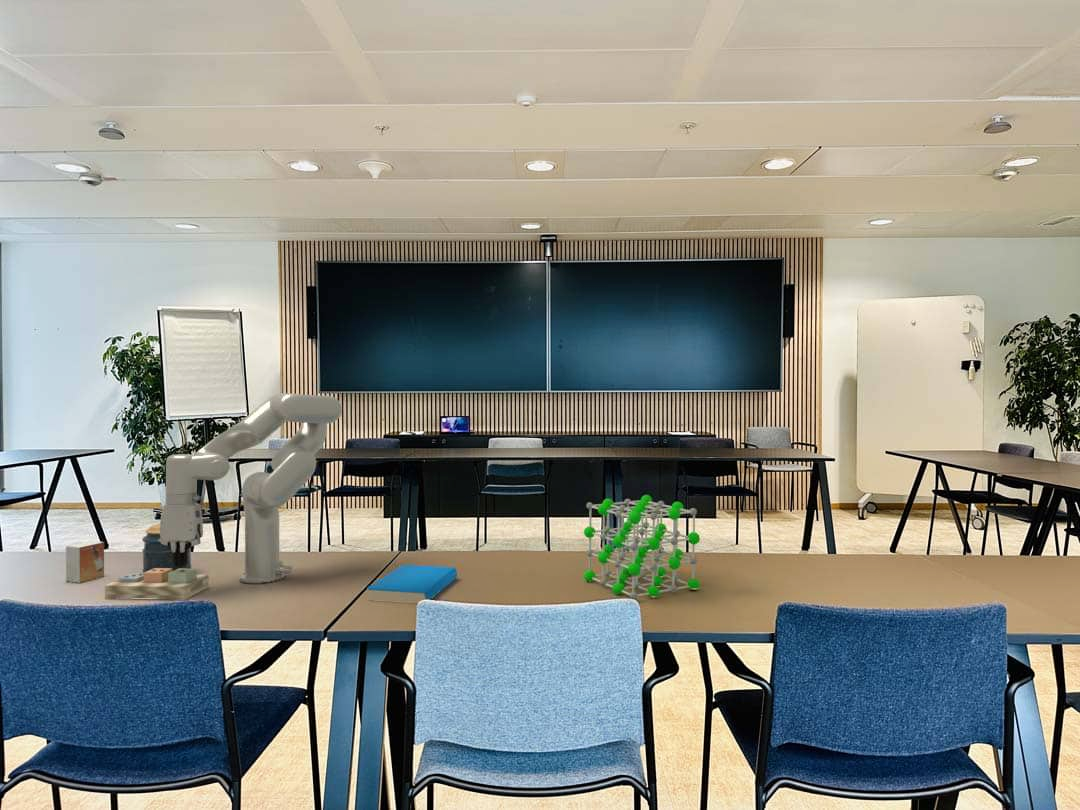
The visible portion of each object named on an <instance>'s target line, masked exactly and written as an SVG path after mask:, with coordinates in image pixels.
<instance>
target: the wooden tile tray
mask: <svg viewBox="0 0 1080 810" xmlns="http://www.w3.org/2000/svg"><path fill="white" fill-rule="evenodd" d="M137 574H139V572H138V573H137ZM209 580H210V579H209V574H196V579H195V580H193V581H191V582H189V583H187V584H183V583H168V580H167V581H165V582H163V583H144V580H142V581H140V582H137V583H128V582H119V579H117V580H115V581H112V582H109V583H108V584H105V585H104V599H106V600H117V599H116V598H122V599H121V600H133V599H132V598H157V599H169V600H168V601H185V600H187V599H186V598H187V597H189V596H191V595H193V596H195V595H197V594H198V592H199V593H201V592H203V591H204V590H206V589H208V588H209V587H210V586H209V585H210V584H209V583H210V582H209ZM207 587H208V588H207ZM205 588H206V589H205ZM202 590H203V591H202ZM200 591H201V592H200ZM196 593H197V594H196ZM194 594H195V595H194ZM191 597H192V596H191ZM123 598H124V599H123ZM125 598H126V599H125ZM130 598H131V599H130ZM189 598H190V597H189Z"/></svg>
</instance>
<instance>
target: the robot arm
mask: <svg viewBox="0 0 1080 810" xmlns="http://www.w3.org/2000/svg"><path fill="white" fill-rule="evenodd" d="M342 411H343V407H342V404H341V403H340V401H339V400H338V399H337V398H336V397H334V396H331V395H314V394H301V393H291V392H290V393H289V392H288V393H287V392H281V393H279V392H278V393H276V394H274V395H272V396H270V397H269V398H268V399H266V400H265V401H264V402H263V403H261V404H260V405H259V406H258V407H257V408H255V409H254V410H253V411H252V412H250V413H249V414H248V415H247V416H246V417H244V418H243V419H242V420H241V421H239V422H237V423H236V424H234V425H232V426H231V427H230V428H228V429H227V430H224V431H223V432H222V433H220V434H218V435H217V436H215V437H214V438H213V439H211V440H210V441H209V442H207V443H206V444H205V445H203V447H201V448H200V449H199V450H198V451H196V452H195V453H194V454H190V453H189V454H188V453H187V454H186V453H179V454H178V453H177V454H172V455H169V456H168V457H166V460H165V461H166V463H165V466H166V467H165V503H164V504H163V506H162V510H161V515H160V522H159V524H160V538H161V544H164V545H168V546H169V547H170V548H171V551H172V552H174V567H182V566H184V565H186V563H187V551H188V550H189V549H190V548H191V549H192V547H195V546H198V545H200V544H201V542H202V541H201V538H202V537H203V535H204V525H203V524H204V522H203V514H202V508H201V505H200V503H197V502H198V501H201V499H202V497H201V495H198V492H197V491H198V490H197V485H198V483H197V482H198V480H201V481H202V480H203V481H205V480H206V481H217V480H220V479H223V478H224V477H226V476H227V475H228V473H229V471H230V461H229V459H230V458H231V457H233V456H234V455H236V454H238V453H240V452H242V451H244V450H248V449H251V448H254V447H256V446H258V445H261V444H262V443H263V442H264V441H265V440H266V439H268V438H269V437H270V436H271V435H272V434H273V433H275V432H276V431H278V429H279V428H280V427H282V426H283V425H284V424H285V423H286V422H287V423H288V422H291V423H301V424H300V427H299V429H298V430H297V431H296V433H295V434H294V435H293V436H292V437H291V438H290V439H289V440H288V441H287V442H286V443H285V444H284V445H283V446H282V447H281V448H280V449H279V450H278V451H277V452H276V453H274V455H273V457H272V460H271V462H270V463H271V469H272V470H273V471H271V472H270V473H269V472H264V471H257V472H255V473H252V474H250V475H249V476H248V477H246V479H244V481H243V484H242V488H241V489H242V490H241V495H242V503H243V510H244V573H242V574H240V575H239V581H240V582H241V581H242V582H241V583H244V582H246V583H245V584H263V583H262V582H267V583H271V581H272V582H275V580H276V581H280V580H282V579H283V578H285V576H286V574H292V573H293V566H292V565H285V564H284V560H280V557H281V556H280V555H281V554H280V511H279V507H280V508H281V507H282V506H284V505H285V504H286V503H288V502H289V501H290V500H291V499H292V498H293V497H294V496H295V495H296V493H298V491H299V490H300V489H302V487H303V486H304V485H305V484H306V483H307V482H308V480H310V479H311V478H312V476H313V475H314V474H315V473H314V472H315V470H316V467H317V458H316V457H315V454H317V453H318V451H319V450H320V449H321V447H322V446H323V445H324V443H325V441H326V439H327V433H328V432H327V430H328V424H333V423H335V422H336V421H338V419H339V418H340V417H341V415H342ZM281 578H282V579H281ZM279 579H280V580H279Z"/></svg>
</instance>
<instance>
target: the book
mask: <svg viewBox="0 0 1080 810" xmlns="http://www.w3.org/2000/svg"><path fill="white" fill-rule="evenodd" d="M457 578H458V571H457V569H456V567H453V566H439V565H438V566H437V565H436V566H434V565H420V564H419V565H418V564H416V565H415V564H403V565H401V566H400V567H397V568H396V569H395V570H393V571H392V572H390V573H388V574H387V575H385V576H383V577H382V578H380V579H379V580H376V582H374V583H372V584H370V585H369V586H368V587H366V590H367V600H368V599H373V600H388V601H402V602H413V603H414V602H416V603H417V602H418V601H420V600H424V599H431V600H433V598H432V597H433V596H434V595H436V594H437V593H438V592H439V591H441V590H442V589H443V588H444V589H446V588H447V587H448V586H450V585H451V582H452V581H453V580H454V581H455V580H456V579H457ZM454 581H453V582H454ZM453 582H452V583H453ZM447 585H448V586H447ZM446 586H447V587H446ZM445 587H446V588H445ZM444 589H443V590H444ZM443 590H442V591H443ZM442 591H441V592H442ZM438 594H439V593H438ZM438 594H437V595H438ZM437 595H436V596H437Z"/></svg>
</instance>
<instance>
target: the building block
mask: <svg viewBox="0 0 1080 810" xmlns="http://www.w3.org/2000/svg"><path fill="white" fill-rule="evenodd" d="M118 580H119V582H128V583H137V582H140V581H142V580H144V574H143V573H138V574H137V573H132V572H131V573H129V574H127V575H126V574H125V575H124V576H121V577H119V578H118Z"/></svg>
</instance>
